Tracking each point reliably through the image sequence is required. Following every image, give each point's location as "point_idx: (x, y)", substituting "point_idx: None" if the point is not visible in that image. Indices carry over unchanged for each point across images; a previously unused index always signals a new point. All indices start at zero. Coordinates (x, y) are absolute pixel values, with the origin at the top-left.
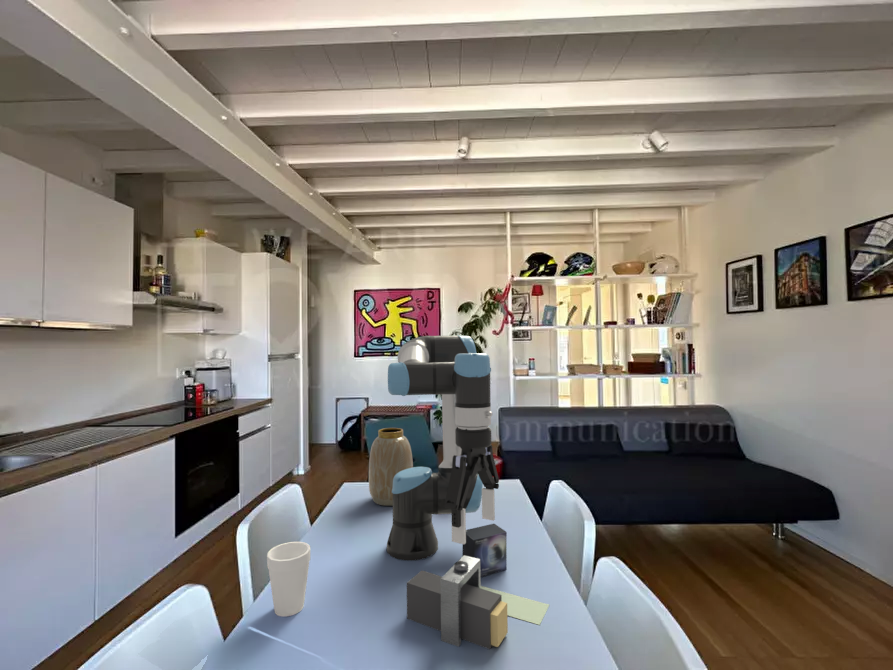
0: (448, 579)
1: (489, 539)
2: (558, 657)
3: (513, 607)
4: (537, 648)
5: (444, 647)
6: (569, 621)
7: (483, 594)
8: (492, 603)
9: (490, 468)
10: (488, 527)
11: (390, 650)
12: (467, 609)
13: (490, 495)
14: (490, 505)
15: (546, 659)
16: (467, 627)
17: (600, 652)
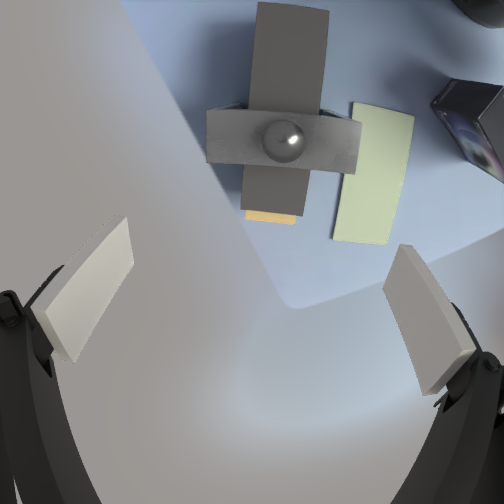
0: (212, 131)
1: (492, 153)
2: (275, 269)
3: (366, 194)
4: (282, 243)
5: None
6: (355, 271)
7: (289, 181)
8: (264, 208)
9: (479, 482)
10: None
11: (175, 45)
12: None
13: (422, 362)
14: (407, 323)
15: (265, 257)
16: None
17: (303, 306)
